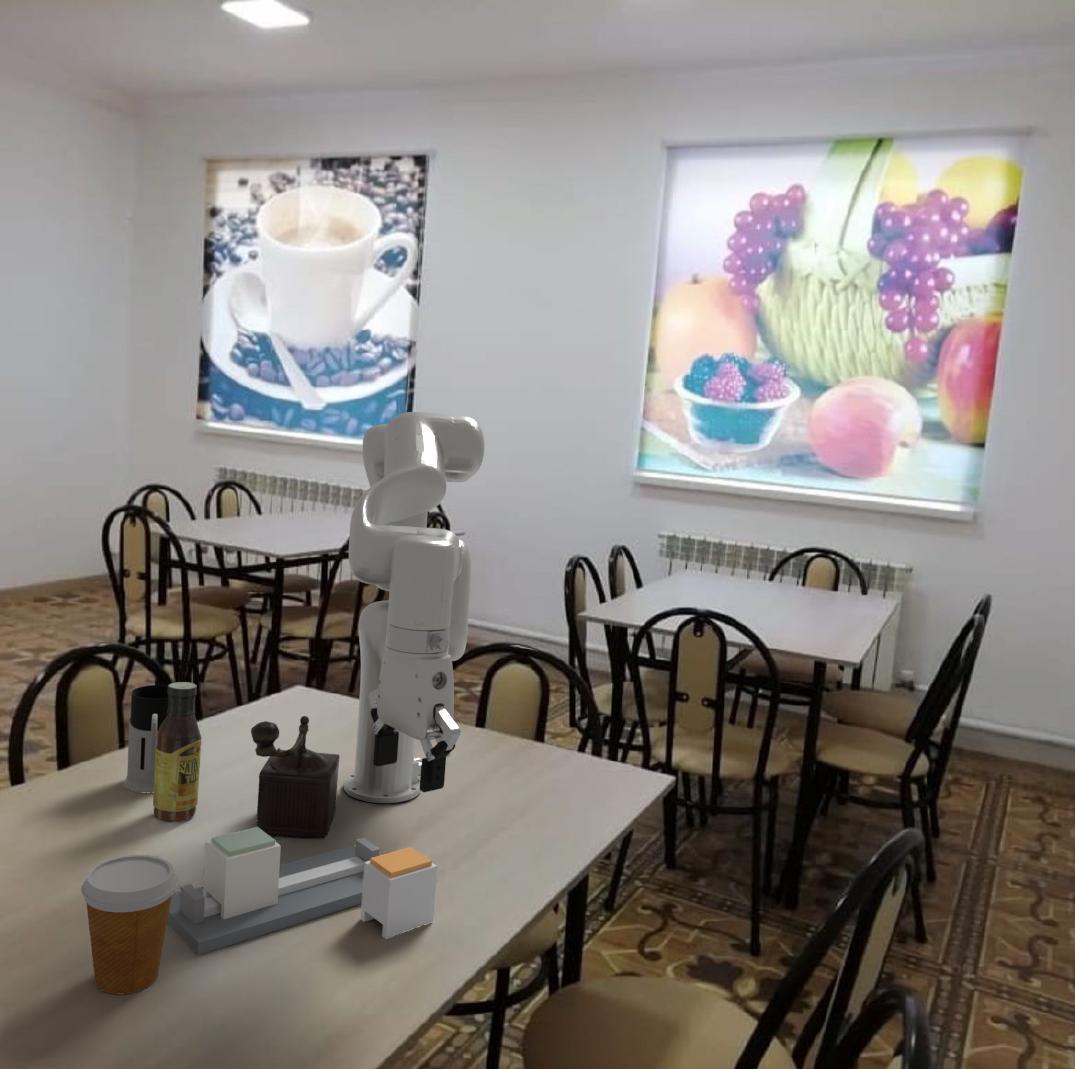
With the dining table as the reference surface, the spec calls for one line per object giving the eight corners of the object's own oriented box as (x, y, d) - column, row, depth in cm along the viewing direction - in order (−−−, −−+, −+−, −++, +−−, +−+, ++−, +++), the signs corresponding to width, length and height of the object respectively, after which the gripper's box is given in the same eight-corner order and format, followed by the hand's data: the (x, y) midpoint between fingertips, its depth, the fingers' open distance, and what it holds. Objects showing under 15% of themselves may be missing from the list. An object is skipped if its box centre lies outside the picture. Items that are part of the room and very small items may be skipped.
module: (406, 904, 130) (411, 844, 129) (432, 923, 126) (437, 861, 125) (360, 919, 125) (364, 857, 124) (385, 939, 121) (390, 875, 120)
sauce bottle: (182, 827, 146) (188, 694, 144) (143, 820, 147) (148, 688, 145) (206, 810, 153) (212, 683, 150) (168, 803, 154) (174, 677, 151)
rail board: (353, 855, 142) (357, 790, 141) (402, 890, 133) (407, 821, 132) (155, 910, 123) (158, 835, 122) (198, 955, 114) (201, 875, 113)
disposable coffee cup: (96, 952, 113) (99, 850, 112) (183, 955, 114) (188, 854, 112) (64, 1002, 104) (67, 892, 102) (159, 1005, 105) (164, 896, 103)
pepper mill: (265, 806, 156) (271, 693, 154) (337, 811, 157) (344, 698, 154) (240, 850, 141) (247, 726, 138) (320, 855, 141) (328, 731, 139)
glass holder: (182, 771, 167) (186, 683, 165) (181, 806, 153) (185, 710, 151) (125, 773, 164) (129, 683, 162) (119, 808, 150) (122, 711, 149)
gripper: (487, 652, 117) (476, 794, 119) (402, 622, 130) (392, 750, 132) (436, 659, 112) (424, 806, 114) (351, 626, 125) (343, 760, 127)
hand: (407, 776), depth 123 cm, fingers open, 9 cm apart
